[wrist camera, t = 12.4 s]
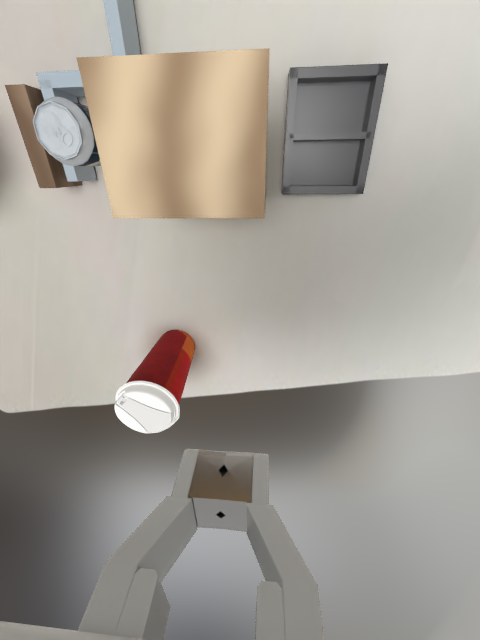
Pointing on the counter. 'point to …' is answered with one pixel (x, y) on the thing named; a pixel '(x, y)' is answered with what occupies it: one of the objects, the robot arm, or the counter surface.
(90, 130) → the beer can
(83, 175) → the blue grey drawer
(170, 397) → the coffee cup
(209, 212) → the tunnel
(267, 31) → the counter surface
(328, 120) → the tray
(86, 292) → the counter surface
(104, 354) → the counter surface
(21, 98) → the end stop
